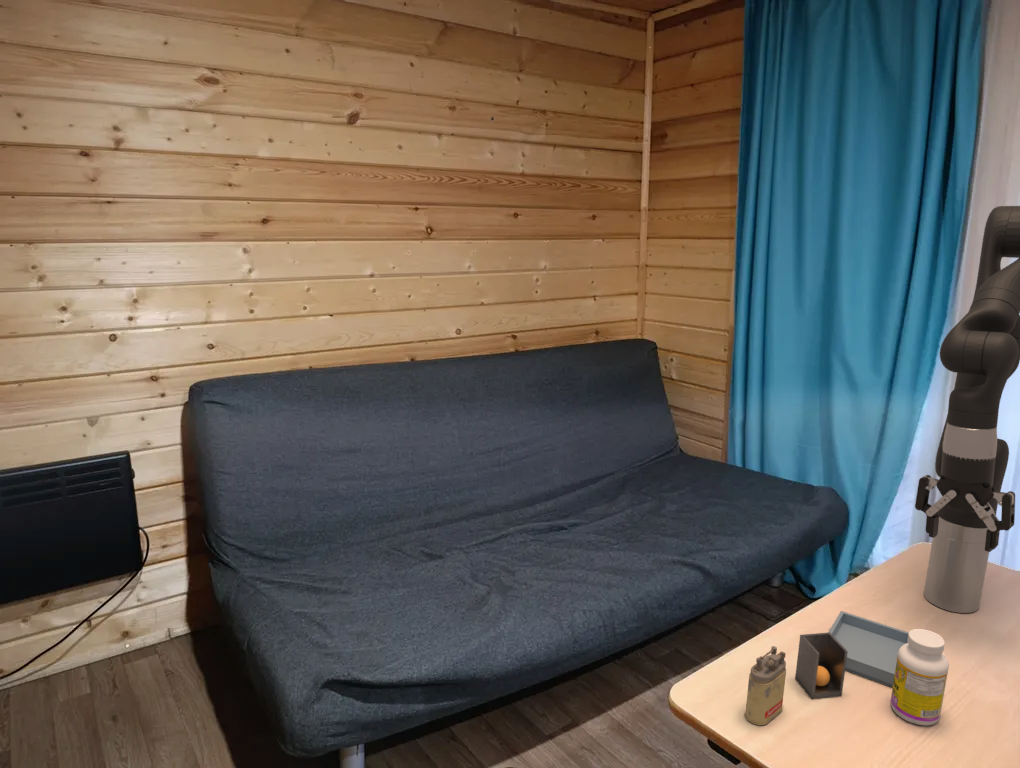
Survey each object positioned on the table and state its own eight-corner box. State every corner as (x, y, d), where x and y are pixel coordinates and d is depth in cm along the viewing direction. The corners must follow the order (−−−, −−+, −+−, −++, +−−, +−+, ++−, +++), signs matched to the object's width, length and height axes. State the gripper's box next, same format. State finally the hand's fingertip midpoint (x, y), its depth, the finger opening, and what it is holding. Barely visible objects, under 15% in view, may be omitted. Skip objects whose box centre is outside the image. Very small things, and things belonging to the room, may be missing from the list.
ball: (811, 675, 119) (813, 659, 118) (830, 682, 117) (833, 666, 116) (805, 685, 116) (807, 668, 115) (825, 693, 114) (828, 676, 114)
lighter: (760, 729, 108) (767, 670, 105) (738, 715, 110) (743, 657, 108) (786, 708, 112) (793, 650, 109) (764, 695, 115) (770, 639, 112)
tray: (839, 622, 134) (840, 610, 133) (913, 647, 127) (915, 634, 126) (817, 660, 123) (819, 647, 123) (896, 689, 116) (898, 675, 116)
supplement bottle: (895, 691, 116) (907, 619, 112) (943, 710, 112) (956, 635, 108) (884, 714, 111) (896, 639, 107) (934, 734, 107) (948, 657, 103)
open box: (795, 678, 119) (800, 634, 117) (824, 675, 119) (829, 632, 117) (811, 699, 114) (817, 653, 112) (841, 696, 115) (847, 651, 113)
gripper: (1026, 454, 119) (1015, 549, 122) (931, 439, 130) (923, 526, 133) (1012, 464, 115) (1001, 562, 118) (914, 447, 125) (906, 537, 128)
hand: (960, 543), depth 125 cm, fingers open, 8 cm apart
